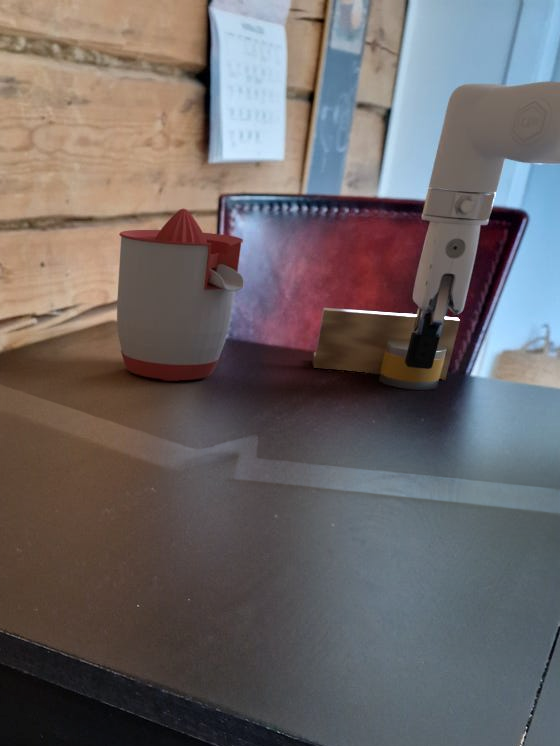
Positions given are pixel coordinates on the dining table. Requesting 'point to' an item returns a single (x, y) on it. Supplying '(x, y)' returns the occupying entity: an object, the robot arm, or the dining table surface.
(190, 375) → the citrus juicer
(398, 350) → the tin can
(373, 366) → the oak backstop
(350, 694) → the dining table surface
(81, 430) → the dining table surface
